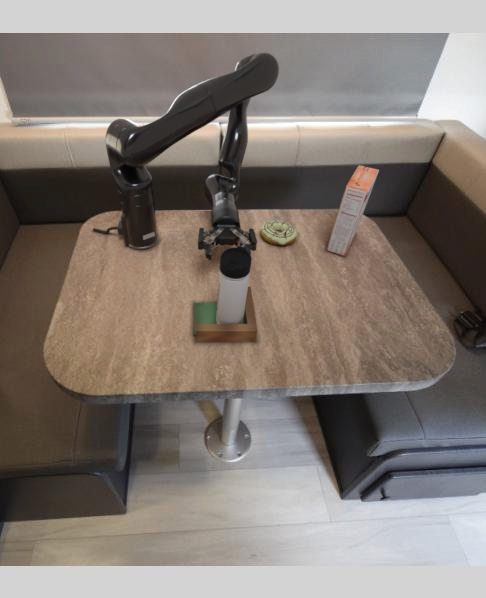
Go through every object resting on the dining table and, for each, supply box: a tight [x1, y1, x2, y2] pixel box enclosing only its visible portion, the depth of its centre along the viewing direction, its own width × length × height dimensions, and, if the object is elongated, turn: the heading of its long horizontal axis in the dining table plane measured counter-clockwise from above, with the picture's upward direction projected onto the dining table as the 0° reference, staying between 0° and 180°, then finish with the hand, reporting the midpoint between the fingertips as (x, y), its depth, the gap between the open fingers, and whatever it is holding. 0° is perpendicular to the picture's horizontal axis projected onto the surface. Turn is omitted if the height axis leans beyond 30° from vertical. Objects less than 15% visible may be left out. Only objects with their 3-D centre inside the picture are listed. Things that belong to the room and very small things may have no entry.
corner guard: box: [192, 286, 258, 343], centre depth 82 cm, size 14×14×4 cm
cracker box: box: [325, 165, 380, 257], centre depth 99 cm, size 14×6×21 cm, turn 150°
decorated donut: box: [260, 219, 298, 247], centre depth 106 cm, size 10×11×4 cm
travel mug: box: [216, 246, 253, 324], centre depth 75 cm, size 6×7×20 cm
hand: (228, 258), depth 81 cm, fingers open, 8 cm apart
